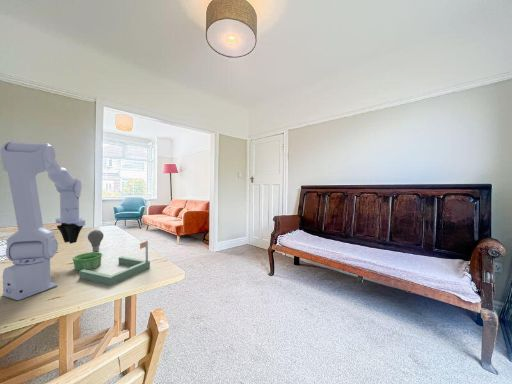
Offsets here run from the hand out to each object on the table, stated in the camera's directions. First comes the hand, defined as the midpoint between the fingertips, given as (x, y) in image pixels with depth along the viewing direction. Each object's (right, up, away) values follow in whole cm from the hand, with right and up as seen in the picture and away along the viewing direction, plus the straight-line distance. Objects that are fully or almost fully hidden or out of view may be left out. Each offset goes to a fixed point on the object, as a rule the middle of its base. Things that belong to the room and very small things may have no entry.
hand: (70, 242), depth 87 cm
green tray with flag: (+23, -9, -8) cm, 26 cm away
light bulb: (-1, -8, +16) cm, 17 cm away
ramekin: (+9, -9, -3) cm, 13 cm away
